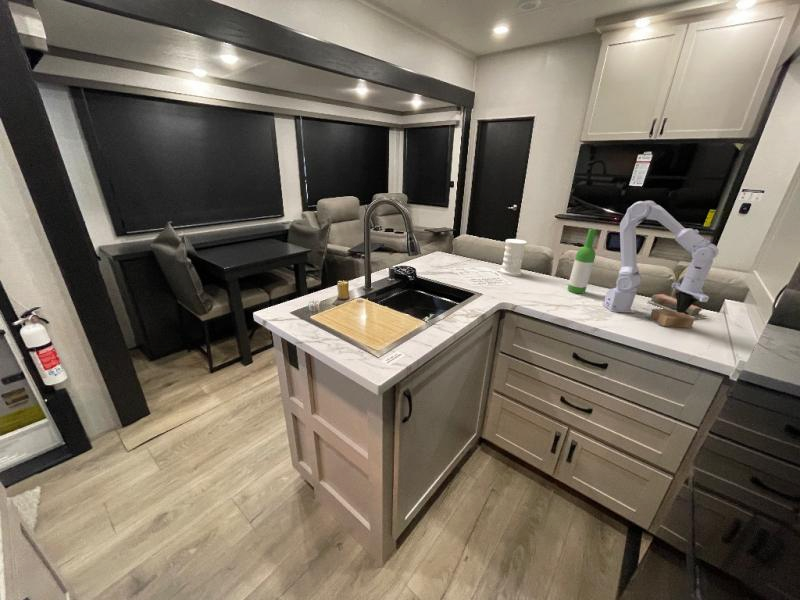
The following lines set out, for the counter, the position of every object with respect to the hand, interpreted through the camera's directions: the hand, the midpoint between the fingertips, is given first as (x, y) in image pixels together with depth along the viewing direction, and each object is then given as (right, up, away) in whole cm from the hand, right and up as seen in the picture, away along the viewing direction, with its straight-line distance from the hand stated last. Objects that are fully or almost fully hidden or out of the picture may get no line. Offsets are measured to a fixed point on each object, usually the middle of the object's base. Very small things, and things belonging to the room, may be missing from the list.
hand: (680, 312), depth 118 cm
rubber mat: (0, -4, +5) cm, 7 cm away
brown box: (0, -4, 0) cm, 4 cm away
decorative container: (-44, +20, +58) cm, 75 cm away
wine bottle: (-20, +9, +34) cm, 40 cm away
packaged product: (+13, 0, +17) cm, 21 cm away
